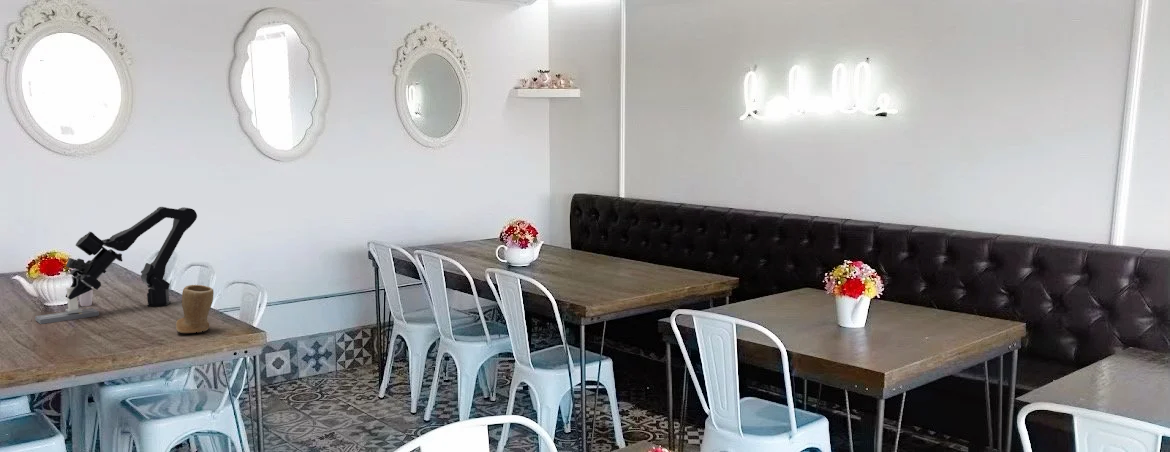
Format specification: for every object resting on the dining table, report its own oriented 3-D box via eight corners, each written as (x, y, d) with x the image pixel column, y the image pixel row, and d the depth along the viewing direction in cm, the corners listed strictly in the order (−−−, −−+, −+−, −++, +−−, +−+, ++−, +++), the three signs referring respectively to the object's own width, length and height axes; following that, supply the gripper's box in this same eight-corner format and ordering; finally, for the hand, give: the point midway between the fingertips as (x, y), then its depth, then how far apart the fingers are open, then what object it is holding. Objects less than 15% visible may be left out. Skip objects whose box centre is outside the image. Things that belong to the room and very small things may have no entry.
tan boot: (216, 333, 278) (213, 287, 276) (175, 337, 273) (172, 291, 271) (215, 323, 291) (212, 280, 289) (176, 327, 287) (173, 283, 285)
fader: (78, 309, 307) (76, 286, 306) (81, 312, 303) (79, 288, 302) (65, 311, 304) (63, 287, 303) (68, 313, 301) (66, 289, 300)
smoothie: (89, 306, 321) (86, 270, 320) (72, 307, 321) (69, 270, 320) (99, 303, 328) (96, 267, 326) (82, 303, 328) (79, 267, 326)
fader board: (93, 312, 312) (92, 307, 312) (99, 315, 306) (98, 311, 306) (35, 320, 300) (35, 315, 299) (40, 324, 294) (40, 319, 294)
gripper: (74, 247, 311) (41, 281, 305) (87, 252, 297) (54, 287, 291) (100, 265, 317) (68, 299, 311) (114, 271, 303) (82, 307, 297)
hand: (67, 298), depth 302 cm, fingers closed on fader, 3 cm apart
